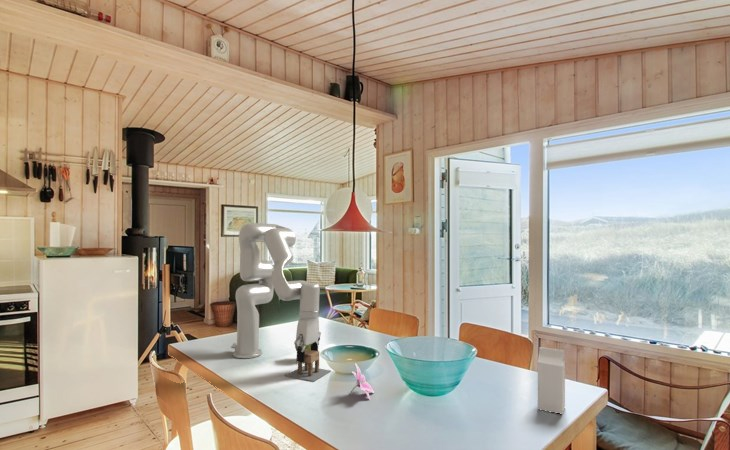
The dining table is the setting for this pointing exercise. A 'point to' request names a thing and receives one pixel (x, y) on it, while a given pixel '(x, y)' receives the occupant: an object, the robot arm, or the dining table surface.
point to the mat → (305, 374)
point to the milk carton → (551, 380)
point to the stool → (310, 362)
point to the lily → (362, 382)
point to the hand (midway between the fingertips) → (307, 358)
